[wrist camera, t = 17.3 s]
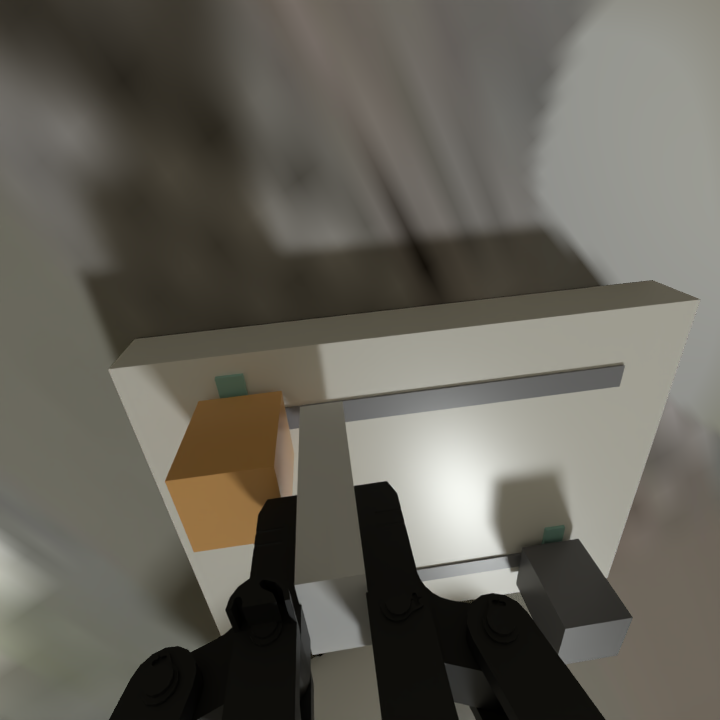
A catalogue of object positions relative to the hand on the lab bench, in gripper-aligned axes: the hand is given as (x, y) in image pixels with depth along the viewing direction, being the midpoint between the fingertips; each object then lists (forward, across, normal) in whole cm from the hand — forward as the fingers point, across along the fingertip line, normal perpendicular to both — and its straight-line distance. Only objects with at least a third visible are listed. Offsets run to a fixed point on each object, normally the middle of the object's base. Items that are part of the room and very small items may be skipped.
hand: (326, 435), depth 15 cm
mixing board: (+4, -4, +6) cm, 8 cm away
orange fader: (+1, +3, 0) cm, 3 cm away
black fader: (+1, -10, +11) cm, 15 cm away
